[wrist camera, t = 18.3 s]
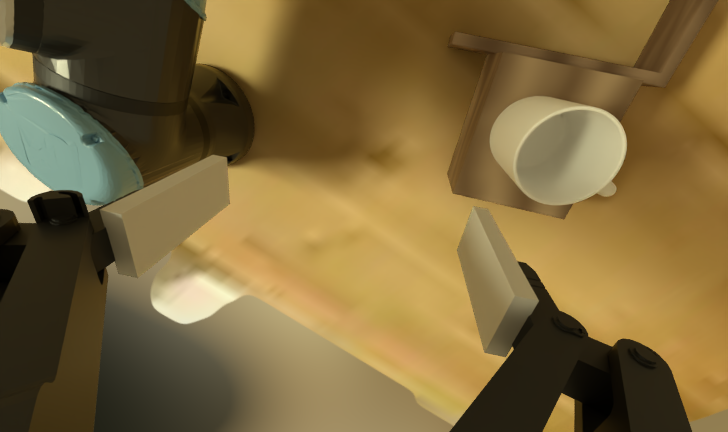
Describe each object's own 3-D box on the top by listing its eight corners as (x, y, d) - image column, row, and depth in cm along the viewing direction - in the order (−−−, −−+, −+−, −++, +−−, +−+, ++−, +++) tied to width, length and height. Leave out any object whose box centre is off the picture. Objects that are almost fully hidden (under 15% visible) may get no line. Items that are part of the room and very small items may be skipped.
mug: (611, 143, 33) (687, 173, 23) (550, 200, 36) (594, 244, 27) (527, 78, 31) (573, 83, 22) (472, 144, 35) (491, 171, 26)
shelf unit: (414, 166, 45) (414, 184, 38) (506, -166, 29) (535, -241, 22) (569, 201, 44) (598, 227, 37) (753, -126, 28) (867, -191, 21)
